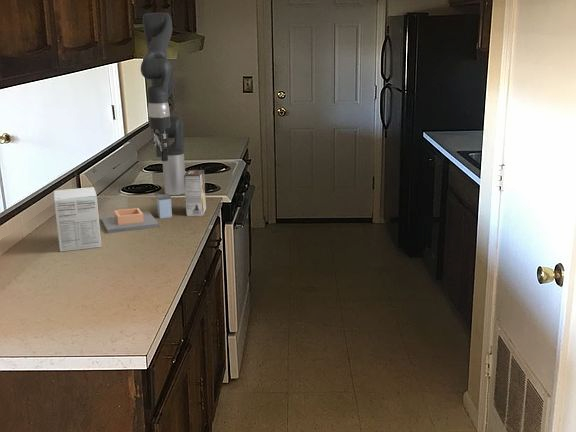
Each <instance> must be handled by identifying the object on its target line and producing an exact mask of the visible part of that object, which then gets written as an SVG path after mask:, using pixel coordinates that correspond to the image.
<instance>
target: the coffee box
mask: <svg viewBox="0 0 576 432" xmlns="http://www.w3.org/2000/svg"><path fill="white" fill-rule="evenodd" d="M184 180H185V193H184V194H185V213H186V217H198V216H199V217H200V216H201V217H202V216H204V215H205V212H206V210H207V203H206V182H205V169H187V172H186V171H185V175H184Z"/></svg>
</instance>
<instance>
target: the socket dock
mask: <svg viewBox="0 0 576 432" xmlns="http://www.w3.org/2000/svg"><path fill="white" fill-rule="evenodd" d="M113 214H114V215H113ZM113 214H112V215H105V216H104V215H103V216H100V220H101V222H102V225H103V227H104V229H105V231H106V233H107V234H112V233H121V232H128V231H137V230H144V229H152V228H153V229H154V228H158V227H160V225H159V222H158V221H157V219H156V218H155V217H154V216H153V214H152V213H151V212H150V211H149V210H147V211H141V209H140V208H139V207H134V208H133V207H132V208H123V209H116V210H115V209H114V210H113Z"/></svg>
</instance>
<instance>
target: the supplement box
mask: <svg viewBox="0 0 576 432" xmlns="http://www.w3.org/2000/svg"><path fill="white" fill-rule="evenodd" d="M53 203H54V211H55V220H56V221H55V222H56V230H57V237H58V244H59V251H60V252H61V253H62V252H69V251H79V250H85V249H95V248H97V249H98V248H101V247H102V238H101V228H100V218H99V217H100V216H99V209H98V208H99V207H98V196H97V192H96V190H95V187H93V186H91V187H81V188H79V187H77V188H70V189H66V188H65V189H58V190H57V189H56V190H53Z"/></svg>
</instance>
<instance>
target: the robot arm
mask: <svg viewBox="0 0 576 432" xmlns="http://www.w3.org/2000/svg"><path fill="white" fill-rule="evenodd" d="M142 28H143V32H144V38H145V42H146V43H145V44H146V48H147V54H146V55H145V57H143V59H142V62H141V64H140V72H141V73H140V74H141V75H142V77H143V78H145V79H146V80H150V81H151V82H150V83H151V86H148V88H147V97H148V98H147V99H148V108H147V110H148V111H147V112H148V123H149V124H148V125H149V128H150V129H151V130H152V133H153V134H152V136H153V144H154V147H155V153H156V158H161V159H160V160H161V161H162V172H163V174H162V175H163V189H164V194H169V195H170V196H178V195H184V194H185V180H184V175H185V174H186V170H185V169H186V168H185V154H184V153H185V152H184V151H185V149H184V148H185V147H184V146H185V145H184V121H183V119H182V116H180V115H170V114H171V113H170V106H169V98H170V97H171V95H172V93H173V91H174V88H175V86H176V85H175V84H176V83H175V76H174V75H175V74H174V69H173V67H172V64H171V62H170V61H169V60H168V59H167V57H168V48H169V47H168V46H169V43H170V41H171V37H172V34H173V21H172V16H171V15H170V13H169V12H146V13H144V14H143V16H142ZM169 139H174V141H173V142H171V143H169Z"/></svg>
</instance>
